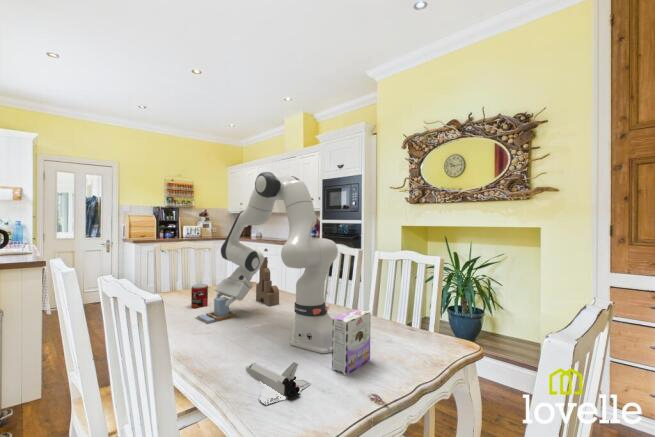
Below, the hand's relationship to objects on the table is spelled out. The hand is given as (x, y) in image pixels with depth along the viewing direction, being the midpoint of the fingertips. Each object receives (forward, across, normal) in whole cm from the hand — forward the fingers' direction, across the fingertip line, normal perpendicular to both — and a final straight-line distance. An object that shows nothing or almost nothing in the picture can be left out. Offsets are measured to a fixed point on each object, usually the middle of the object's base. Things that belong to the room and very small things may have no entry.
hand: (220, 303), depth 151 cm
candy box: (+1, +72, +10) cm, 73 cm away
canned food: (+3, -26, +7) cm, 27 cm away
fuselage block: (+4, 0, +5) cm, 6 cm away
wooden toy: (-18, -9, +28) cm, 35 cm away
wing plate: (+9, 0, -1) cm, 9 cm away
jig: (+6, 0, +4) cm, 7 cm away
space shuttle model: (+19, +62, -8) cm, 66 cm away
